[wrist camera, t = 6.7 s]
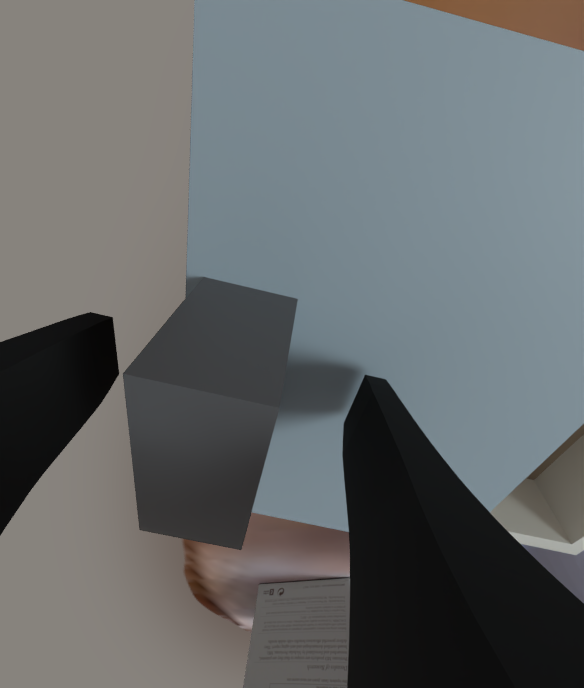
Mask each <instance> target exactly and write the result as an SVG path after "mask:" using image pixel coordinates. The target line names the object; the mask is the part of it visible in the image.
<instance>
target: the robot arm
mask: <svg viewBox="0 0 584 688" xmlns="http://www.w3.org/2000/svg"><path fill="white" fill-rule="evenodd" d="M118 375H119V369H118V360H117V352H116V344H115V334H114V326H113V318H112V317H109V316H104V315H100V314H96V313H91V312H90V313H86V314H83V315H79V316H76V317H73V318H69V319H67V320H63V321H60V322H57V323H54V324H52V325H49V326H46V327H43V328H40V329H37V330H34V331H32V332H28V333H26V334H23V335H20V336H17V337H14V338H11V339H8V340H5V341H3V342H0V535H1V534H2V532H3V530H4V529H5V527H6V526H7V524H8V523H9V521H10V520H11V518H12V517H13V516H14V514H15V513H16V511H17V510H18V508H19V507H20V505H21V504H22V502H23V501H24V499H25V498H26V496H27V495H28V493H29V492H30V491H31V489H32V488H33V486H34V485H35V484H36V483H37V481H38V480H39V478H40V477H41V476H42V474H43V473H44V472H45V471H46V470H47V469H48V467H49V466H50V465H51V464H52V462H53V461H54V460H55V459H56V458H57V456H58V455H59V454H60V453H61V452H62V450H63V449H64V448H65V447H66V446H67V444H68V443H69V442H70V441H71V440H72V438H73V437H74V436H75V434H76V433H77V432H78V431H79V430H80V429H81V427H82V426H83V425H84V424H85V423H86V421H87V420H88V419H89V418H90V416H91V415H92V414H93V413H94V411H95V410H96V408H98V406H99V405H100V404H101V402H102V401H103V399H104V398H105V396H106V394H107V393H108V391H109V390H110V388H111V386H112V385H113V383H114V381H115V380H116V378H117V376H118ZM342 457H343V470H344V482H345V493H346V504H347V515H348V527H349V541H350V618H349V655H348V681H347V688H584V550H583V551H582V552H580V553H579V554H577V555H573V554H568V553H563V552H558V551H553V550H548V549H544V548H539V547H534V546H529V545H524V544H520V543H519V542H518V541H517V540H516V539H515V538H514V537H513V536H512V535H511V534H510V533H509V532H508V531H507V530H506V529H505V528H504V527H503V526H502V525H501V524H500V523H499V522H498V521H497V520H496V519H495V518H494V516H493V515H492V514H491V513H490V512H489V511H488V510H487V509H486V508H485V507H484V506H483V504H482V503H481V502H480V501H479V500H478V499H477V498H476V497H475V496H474V495H473V494H472V492H471V491H470V490H469V489H468V488H467V487H466V486H465V484H464V483H463V482H462V481H461V480H460V479H459V477H458V476H457V475H456V474H455V472H454V471H453V470H452V469H451V467H450V466H449V465H448V464H447V462H446V461H445V460H444V459H443V458H442V456H441V455H440V454H439V452H438V451H437V450H436V449H435V447H434V446H433V445H432V443H431V442H430V441H429V439H428V438H427V437H426V435H425V434H424V433H423V431H422V430H421V428H420V427H419V426H418V424H417V423H416V421H415V420H414V419H413V417H412V416H411V414H410V413H409V411H408V410H407V409H406V407H405V406H404V404H403V403H402V401H401V400H400V398H399V397H398V396H397V394H396V393H395V391H394V390H393V388H392V387H391V386H390V384H389V383H388V381H387V380H386V379H382V378H378V377H374V376H369V375H365V376H364V378H363V381H362V383H361V385H360V387H359V390H358V392H357V394H356V396H355V399H354V401H353V403H352V405H351V408H350V410H349V412H348V414H347V417H346V419H345V421H344V426H343V451H342Z"/></svg>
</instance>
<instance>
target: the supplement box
mask: <svg viewBox="0 0 584 688" xmlns="http://www.w3.org/2000/svg"><path fill="white" fill-rule="evenodd" d="M349 618H350V578H342V579H328V580H313V581H299V582H285V583H270V584H259V588H258V594H257V600H256V607H255V613H254V620H253V627H252V633H251V640H250V647H249V653H248V660H247V666H246V672H245V679H244V685H243V688H347V681H348V655H349Z"/></svg>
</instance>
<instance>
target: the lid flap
mask: <svg viewBox="0 0 584 688" xmlns="http://www.w3.org/2000/svg"><path fill="white" fill-rule="evenodd" d="M194 6H195V7H194V38H193V39H194V41H193V71H192V104H191V105H192V107H191V137H190V172H189V205H188V237H187V270H186V299H185V300H184V301H183V302H182V303H181V305H180V306H179V307H178V308H177V309H176V311H175V312H174V313H173V314H172V315H171V317H170V318H169V319H168V320H167V322H166V323H165V324H164V325H163V326H162V327H161V329H160V330H159V331H158V332H157V333H156V335H155V336H154V337H153V338H152V339H151V341H150V342H149V343H148V344H147V345H146V347H145V348H144V349H143V350H142V352H141V353H140V354H139V355H138V356H137V358H136V359H135V360H134V361H133V362H132V363H131V365H130V366H129V367H128V368H127V369H126V371H125V372H124V373H123V379H124V388H125V398H126V407H127V416H128V425H129V435H130V444H131V454H132V462H133V472H134V482H135V491H136V500H137V510H138V519H139V528H140V530H143V531H148V532H153V533H158V534H163V535H168V536H173V537H178V538H183V539H188V540H193V541H198V542H203V543H208V544H213V545H218V546H223V547H228V548H233V549H239V550H241V549H242V545H243V542H244V538H245V534H246V531H247V527H248V523H249V519H250V516H251V512H252V513H257V514H262V515H267V516H272V517H277V518H282V519H287V520H292V521H297V522H302V523H307V524H311V525H316V526H321V527H326V528H331V529H336V530H341V531H346V532H349V527H348V515H347V504H346V493H345V482H344V470H343V457H342V451H343V426H344V421H345V419H346V417H347V414H348V412H349V410H350V408H351V405H352V403H353V401H354V399H355V396H356V394H357V392H358V390H359V387H360V385H361V383H362V381H363V378H364V376H365V375H369V376H374V377H378V378H382V379H386V380H387V381H388V383H389V384H390V386H391V387H392V388H393V390H394V391H395V393H396V394H397V396H398V397H399V398H400V400H401V401H402V403H403V404H404V406H405V407H406V409H407V410H408V411H409V413H410V414H411V416H412V417H413V419H414V420H415V421H416V423H417V424H418V426H419V427H420V428H421V430H422V431H423V433H424V434H425V435H426V437H427V438H428V439H429V441H430V442H431V443H432V445H433V446H434V447H435V449H436V450H437V451H438V452H439V454H440V455H441V456H442V458H443V459H444V460H445V461H446V462H447V464H448V465H449V466H450V467H451V469H452V470H453V471H454V472H455V474H456V475H457V476H458V477H459V479H460V480H461V481H462V482H463V483H464V484H465V486H466V487H467V488H468V489H469V490H470V491H471V492H472V494H473V495H474V496H475V497H476V498H477V499H478V500H479V501H480V502H481V503H482V504H483V506H484V507H485V508H486V509H487V510H488V511H489V512H491V511H492V510H493V509H494V508H495V507H496V506H497V505H498V504H499V503H500V502H501V501H502V500H503V499H504V498H505V497H507V496H508V495H509V494H510V493H511V492H512V491H513V490H514V489H515V488H516V487H517V486H518V485H519V484H520V483H521V482H522V481H523V480H525V479H526V478H527V477H528V476H529V475H530V474H531V473H532V472H533V471H534V470H535V469H536V468H537V467H538V466H539V465H540V464H541V463H543V462H544V461H545V460H546V459H547V458H548V457H549V456H550V455H551V454H552V453H553V452H554V451H555V450H556V449H557V448H558V447H560V446H561V445H562V444H563V443H564V442H565V441H566V440H567V439H568V438H569V437H570V436H571V435H572V434H573V433H574V432H575V431H576V430H578V429H579V428H580V427H581V426H582V425H583V424H584V51H581V50H578V49H574V48H571V47H567V46H564V45H560V44H557V43H553V42H549V41H546V40H542V39H539V38H535V37H532V36H528V35H524V34H521V33H517V32H514V31H510V30H507V29H503V28H500V27H496V26H492V25H489V24H485V23H482V22H478V21H475V20H471V19H468V18H464V17H460V16H457V15H453V14H450V13H446V12H443V11H439V10H435V9H432V8H428V7H425V6H421V5H418V4H414V3H411V2H407V1H403V0H195V5H194Z"/></svg>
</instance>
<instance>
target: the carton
mask: <svg viewBox="0 0 584 688" xmlns="http://www.w3.org/2000/svg"><path fill="white" fill-rule="evenodd" d="M490 513H491V514H492V515H493V516H494V518H495V519H496V520H497V521H498V522H499V523H500V524H501V525H502V526H503V527H504V528H505V529H506V530H507V531H508V532H509V533H510V534H511V535H512V536H513V537H514V538H515V539H516V540H517V541H518V542H519V543H520V544H524V545H529V546H534V547H539V548H544V549H548V550H553V551H558V552H563V553H568V554H573V555H577V554H579V553H580V552H582V551H583V550H584V424H583V425H582V426H581V427H580V428H579V429H578V430H576V431H575V432H574V433H573V434H572V435H571V436H570V437H569V438H568V439H567V440H566V441H565V442H564V443H563V444H562V445H561V446H560V447H558V448H557V449H556V450H555V451H554V452H553V453H552V454H551V455H550V456H549V457H548V458H547V459H546V460H545V461H544V462H543V463H541V464H540V465H539V466H538V467H537V468H536V469H535V470H534V471H533V472H532V473H531V474H530V475H529V476H528V477H527V478H526V479H525V480H523V481H522V482H521V483H520V484H519V485H518V486H517V487H516V488H515V489H514V490H513V491H512V492H511V493H510V494H509V495H508V496H507V497H505V498H504V499H503V500H502V501H501V502H500V503H499V504H498V505H497V506H496V507H495V508H494V509H493V510H492V511H491V512H490Z"/></svg>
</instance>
